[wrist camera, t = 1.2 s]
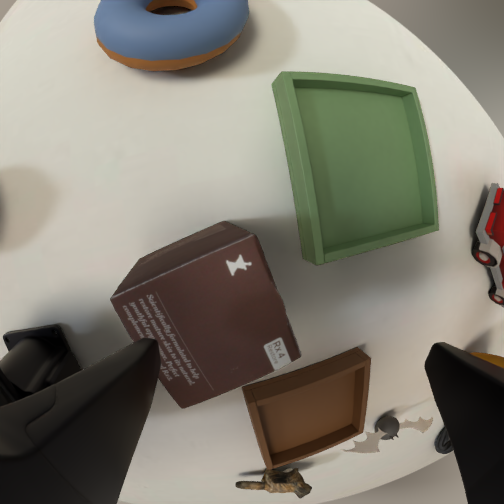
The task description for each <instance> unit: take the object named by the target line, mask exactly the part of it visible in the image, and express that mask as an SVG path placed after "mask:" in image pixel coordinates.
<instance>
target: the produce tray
mask: <svg viewBox="0 0 504 504" xmlns="http://www.w3.org/2000/svg"><path fill="white" fill-rule="evenodd" d="M272 88H273V93H274V97H275V102H276V106H277V111H278V116H279V120H280V125H281V130H282V135H283V140H284V145H285V151H286V156H287V161H288V167H289V172H290V178H291V184H292V190H293V196H294V202H295V208H296V214H297V221H298V228H299V234H300V241H301V248H302V256H303V259H304V260H306V261H308V262H310V263H313V264H315V265H321V264H324V263H328V262H331V261H335V260H339V259H342V258H346V257H350V256H353V255H357V254H360V253H364V252H367V251H371V250H374V249H378V248H381V247H385V246H388V245H392V244H395V243H398V242H402V241H405V240H409V239H412V238H415V237H418V236H422V235H425V234H428V233H431V232H435V231H438V230H439V223H438V207H437V195H436V186H435V177H434V170H433V163H432V157H431V151H430V146H429V140H428V136H427V131H426V126H425V122H424V118H423V114H422V110H421V106H420V102H419V99H418V95H417V92H416V88H415V87H411V86H407V85H402V84H397V83H393V82H387V81H382V80H376V79H370V78H364V77H357V76H349V75H340V74H329V73H315V72H281V73H280V74H279V75H278V77H277V78H276V79H275V81H274V82H273V83H272Z"/></svg>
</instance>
